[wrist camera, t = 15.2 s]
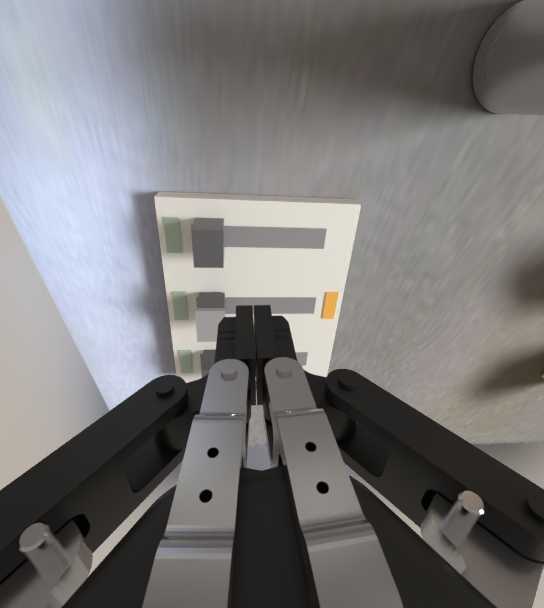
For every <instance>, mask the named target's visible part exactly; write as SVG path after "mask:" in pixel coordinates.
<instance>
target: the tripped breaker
mask: <svg viewBox="0 0 544 608" xmlns="http://www.w3.org/2000/svg"><path fill="white" fill-rule="evenodd" d="M224 317H225V293H199V298H198V304H197V308H195V318H196V331H197V342H217V334H218V324H219V323H220V321H221V320H222V319H223V318H224Z"/></svg>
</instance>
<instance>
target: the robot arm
mask: <svg viewBox="0 0 544 608" xmlns="http://www.w3.org/2000/svg"><path fill="white" fill-rule="evenodd" d="M473 87H474V92H475V95H476V97H477V100H478V101H479V102H480V104H481V105H482V106H483V107H484V108H485V109H486V110H488V111H490V112H493V113H495V114H527V115H544V0H522V1H520V2H517V3H516V4H514V5H513V6H511V7H510V8H509V9H507V10H506V11H505V12H504V13H503V14H502V15H501V16H500V17H499V18H498V19H497V20H496V21H495V22H494V24H493V25H492V26H491V27H490V29H489V30H488V32H487V33H486V35H485V37H484V39H483V41H482V42H481V45H480V47H479V50H478V52H477V55H476V59H475V63H474V68H473ZM256 389H257V405H263V410H264V429H265V435H266V441H267V447H268V453H269V459H270V466H271V468H270V469H267V470H263V471H260V470H254V469H248V468H247V456H248V441H249V420H250V418H251V405H256ZM182 460H183V462H182V467H181V471H180V474H179V479H178V483H177V485H176V486H174V487H172V488H171V489H170V490H168V491H167V492H165V493H164V494H163V495H162V496H161V497H160V498H159V499H157V500H156V501H155V502H154V503H153V504H152V506H151V507H150V508H149V509H148V510H147V511H146V512H145V513H144V515H143V516H142V517H141V518H140V519H139V520H138V521H137V522H136V524H135V525H134V526H133V527H132V528H131V529H130V530H129V531H128V533H127V534H126V535H125V536H124V537H123V538H122V540H121V541H120V542H119V543H118V544H117V545H116V546H115V547H114V548H113V550H112V551H111V552H110V553H109V554H108V555H107V556H106V557H105V559H104V560H103V561H102V562H101V563H100V564H99V565H98V567H97V568H96V569H95V570H94V571H93V572H92V573H91V574H90V576H89V577H88V574H89V572H90V569H91V566H92V557H93V556H92V553H93V552H94V551H95V550H96V549H97V548H98V547H99V546H100V545H101V544H102V543H103V542H104V541H105V540H106V539H107V538H108V537H109V536H110V535H111V533H113V531H114V530H116V528H117V527H118V526H119V525H120V524H121V523H122V522H123V521H124V520H125V519H126V518H127V517H128V516H129V515H130V514H131V513H132V512H133V511H134V510H135V509H136V508H137V507H138V506H139V505H140V504H141V503H142V502H143V501H144V500H145V499H146V497H148V495H149V494H150V493H151V492H152V491H153V490H154V489H155V488H156V487H157V486H158V485H159V484H160V483H161V482H162V481H163V480H164V479H165V478H166V477H167V476H168V475H169V474H170V473H171V472H172V471H173V469H175V468H176V466H178V464H179V463H180V462H181V461H182ZM344 463H345V464H347V465H348V466H349V467H350V468H351V469H352V470H353V471H355V472H356V473H357V474H358V475H359V476H360V477H362V478H363V479H364V480H365V481H366V482H367V483H369V484H370V485H371V486H372V487H373V488H374V489H376V490H377V491H378V492H379V493H380V494H381V495H383V496H384V497H385V498H386V499H387V500H389V501H390V502H391V503H392V504H393V505H394V506H395V507H397V508H398V509H399V510H400V511H401V512H402V513H404V514H405V515H406V516H407V517H408V518H409V519H411V520H412V521H413V522H414V523H415V524H416V525H418V526H419V527H420V528H421V535H422V538H423V539H422V538H421V537H420V536H419V535H418V534H416V532H414V531H413V530H412V529H411V528H410V527H409V526H408V525H407V524H406V523H405V522H403V521H402V520H401V519H400V518H399V517H398V516H397V515H396V514H395V513H394V512H393V511H392V510H390V508H388V507H387V506H386V505H385V504H384V503H383V502H382V501H381V500H380V499H379V498H378V497H377V496H375V495H374V494H373V493H372V492H371V491H370V490H369V489H368V488H367V487H365V486H364V485H363V484H362V483H360V482H359V481H357V480H356V479H354V478H352V477H351V476H349V475H348V472H347V470H346V467H345V464H344ZM543 569H544V489H542V488H540V487H539V486H537V485H536V484H534V483H532V482H531V481H529V480H528V479H526V478H525V477H523V476H521V475H520V474H518V473H516V472H515V471H513V470H512V469H510V468H508V467H507V466H505V465H504V464H502V463H501V462H499V461H497V460H496V459H494V458H492V457H491V456H489V455H488V454H486V453H484V452H483V451H481V450H480V449H478V448H476V447H475V446H473V445H472V444H470V443H469V442H467V441H465V440H464V439H462V438H461V437H459V436H457V435H456V434H454V433H453V432H451V431H449V430H448V429H446V428H445V427H443V426H441V425H440V424H438V423H437V422H435V421H433V420H432V419H430V418H429V417H427V416H425V415H424V414H422V413H421V412H419V411H417V410H416V409H414V408H413V407H411V406H409V405H408V404H406V403H405V402H403V401H401V400H400V399H398V398H397V397H395V396H393V395H392V394H390V393H389V392H387V391H385V390H384V389H382V388H381V387H379V386H377V385H376V384H374V383H373V382H371V381H369V380H368V379H366V378H365V377H363V376H361V375H360V374H358V373H356V372H354V371H352V370H348V369H337V370H334V371H332V372H330V373H329V374H328V376H327V377H323V376H318V375H314V374H311V373H309V372H307V371H305V370H304V369H303V367H302V366H301V364H300V363H299V362H298V361H297V357H296V352H295V348H294V344H293V339H292V335H291V331H290V326H289V322H288V321H287V320H286V319H285V318H284V317H283V316H272V313H271V306H270V305H254V323H253V306H252V305H236V317H224V318H223V319H222V320H221V321H220V323H219V324H218V334H217V342H216V352H215V362H214V365H213V366H212V367H211V369H210V371H209V373H208V374H207V375H206V376H204V377H203V378H201V379H198V380H195V381H191V382H188V383H186V382H185V381H184V379H182V378H181V377H179V376H175V375H165V376H161V377H158V378H156V379H154V380H152V381H151V382H149V383H148V384H147V385H145V386H144V387H142V388H141V389H140V390H138V391H137V392H135V393H134V394H133V395H131V396H130V397H129V398H127V399H126V400H124V401H123V402H122V403H120V404H119V405H118V406H116V407H115V408H113V409H112V410H111V411H109V412H108V413H107V414H106V415H104V416H103V417H101V418H100V419H98V420H97V421H96V422H94V423H93V424H91V425H90V426H89V427H87V428H86V429H84V430H83V431H82V432H81V433H79V434H78V435H76V436H75V437H73V438H72V439H71V440H69V441H68V442H66V443H65V444H64V445H62V446H61V447H60V448H58V449H57V450H55V451H54V452H53V453H51V454H50V455H49V456H47V457H46V458H44V459H43V460H42V461H40V462H39V463H38V464H36V465H35V466H33V467H32V468H31V469H29V470H28V471H26V472H25V473H24V474H22V475H21V476H20V477H18V478H17V479H15V480H14V481H13V482H11V483H10V484H9V485H7V486H6V487H4V488H3V489H2V490H0V608H532V605H533V602H534V598H535V595H536V591H537V587H538V584H539V580H540V577H541V573H542V570H543ZM87 577H88V578H87Z"/></svg>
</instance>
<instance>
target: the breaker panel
mask: <svg viewBox="0 0 544 608" xmlns="http://www.w3.org/2000/svg"><path fill="white" fill-rule="evenodd" d="M154 200H155V208H156V216H157V224H158V232H159V240H160V248H161V256H162V264H163V272H164V279H165V287H166V295H167V303H168V311H169V319H170V327H171V335H172V343H173V351H174V359H175V367H176V375H177V376H179V377H181V378H182V379H184V381H185V382H186V383H188V382H191V381H195V380H198V379H201V378H203V377H204V376H206V375H207V374H208V373H209V371H210V369H211V367H212V366H213V365H214V362H215V352H216V342H197V331H196V318H195V308H197V304H198V298H199V293H225V317H236V305H252V306H253V323H254V305H270V306H271V313H272V316H283V317H284V318H285V319H286V320H287V321H288V322H289V326H290V331H291V335H292V339H293V344H294V348H295V352H296V357H297V361H298V362H299V363H300V364H301V366H302V367H303V369H304V370H305V371H307V372H309V373H311V374H314V375H318V376H323V377H327V373H328V368H329V363H330V358H331V353H332V348H333V343H334V338H335V333H336V328H337V323H338V318H339V313H340V308H341V303H342V298H343V293H344V288H345V283H346V278H347V273H348V268H349V263H350V258H351V253H352V248H353V243H354V238H355V233H356V228H357V223H358V218H359V213H360V208H361V204H360V203H358V202H357V201H356V200H354V199H337V198H311V197H286V196H261V195H235V194H210V193H184V192H158V193H157V194H156V195H155V196H154Z"/></svg>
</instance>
